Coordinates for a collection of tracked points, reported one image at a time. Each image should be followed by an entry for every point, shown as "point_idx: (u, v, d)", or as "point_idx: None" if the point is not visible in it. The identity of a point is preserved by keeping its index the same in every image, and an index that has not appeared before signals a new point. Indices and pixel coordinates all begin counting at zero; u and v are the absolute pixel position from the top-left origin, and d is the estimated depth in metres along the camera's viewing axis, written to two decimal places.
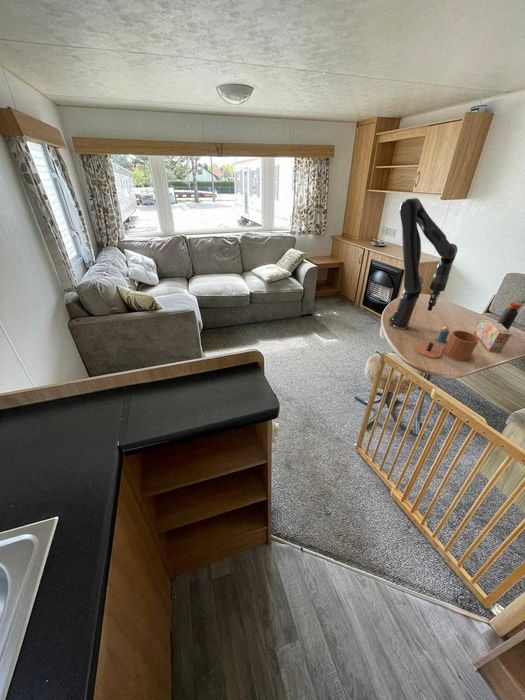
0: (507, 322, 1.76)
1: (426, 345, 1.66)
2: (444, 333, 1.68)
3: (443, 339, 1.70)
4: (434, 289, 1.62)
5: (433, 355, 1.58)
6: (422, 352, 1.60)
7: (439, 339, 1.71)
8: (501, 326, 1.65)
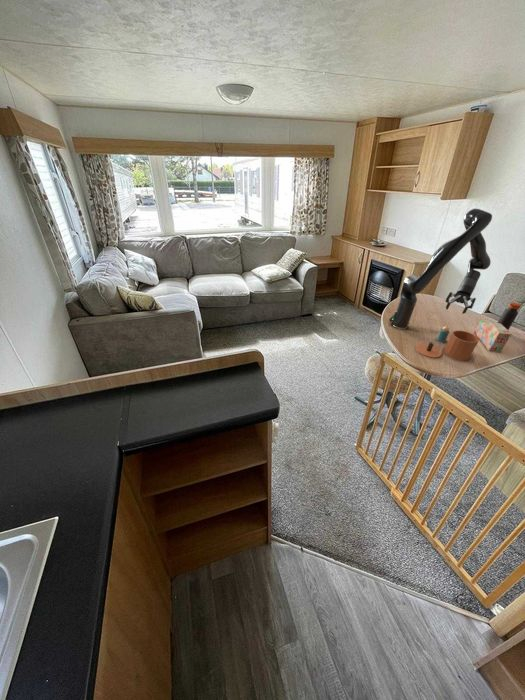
0: (507, 322, 1.76)
1: (426, 345, 1.66)
2: (444, 333, 1.68)
3: (443, 339, 1.70)
4: None
5: (433, 355, 1.58)
6: (422, 352, 1.60)
7: (439, 339, 1.71)
8: (501, 326, 1.65)
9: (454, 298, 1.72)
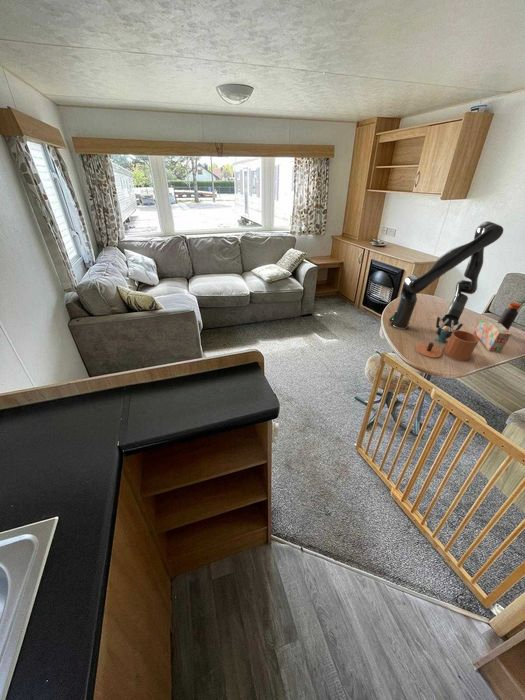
0: (507, 322, 1.76)
1: (426, 345, 1.66)
2: (444, 333, 1.68)
3: (443, 339, 1.70)
4: None
5: (433, 355, 1.58)
6: (422, 352, 1.60)
7: (439, 339, 1.71)
8: (501, 326, 1.65)
9: (443, 323, 1.70)
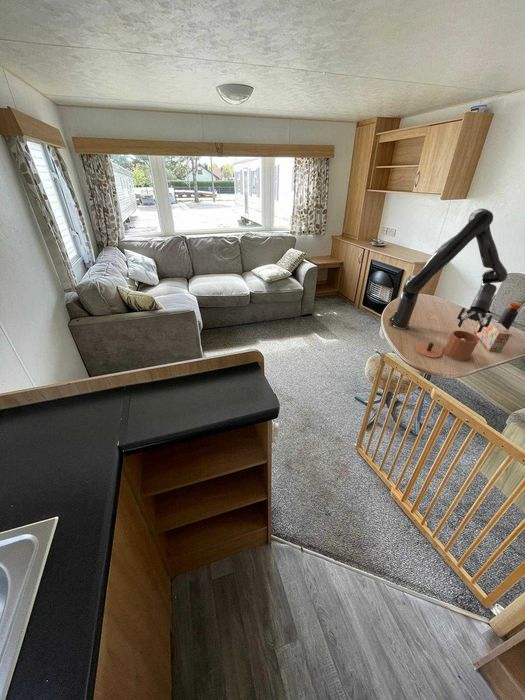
0: (507, 322, 1.76)
1: (426, 345, 1.66)
2: None
3: None
4: (486, 310, 1.50)
5: (433, 355, 1.58)
6: (422, 352, 1.60)
7: None
8: (501, 326, 1.65)
9: (468, 315, 1.52)
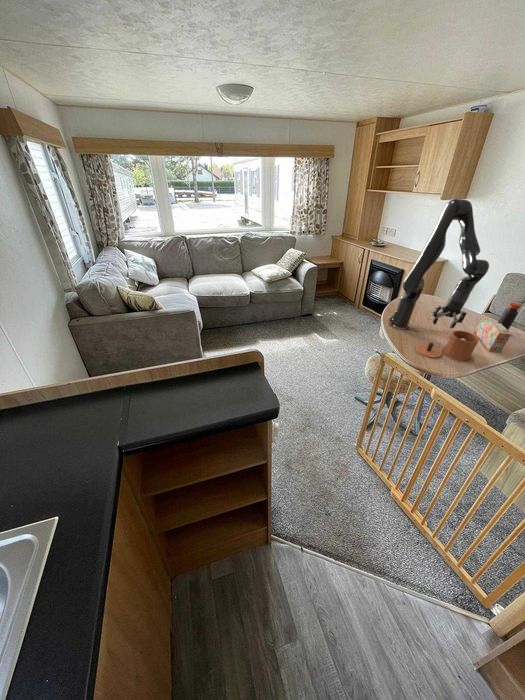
0: (507, 322, 1.76)
1: (426, 345, 1.66)
2: None
3: None
4: (446, 303, 1.49)
5: (433, 355, 1.58)
6: (422, 352, 1.60)
7: None
8: (501, 326, 1.65)
9: None
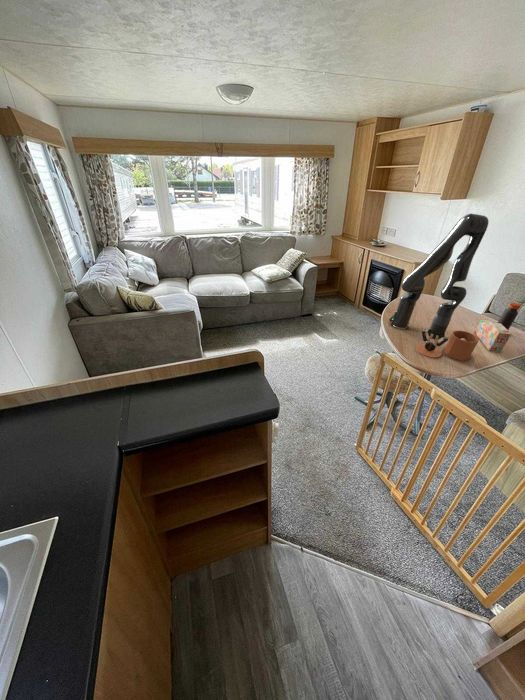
0: (507, 322, 1.76)
1: None
2: None
3: None
4: None
5: (433, 355, 1.58)
6: (422, 352, 1.60)
7: None
8: (501, 326, 1.65)
9: None
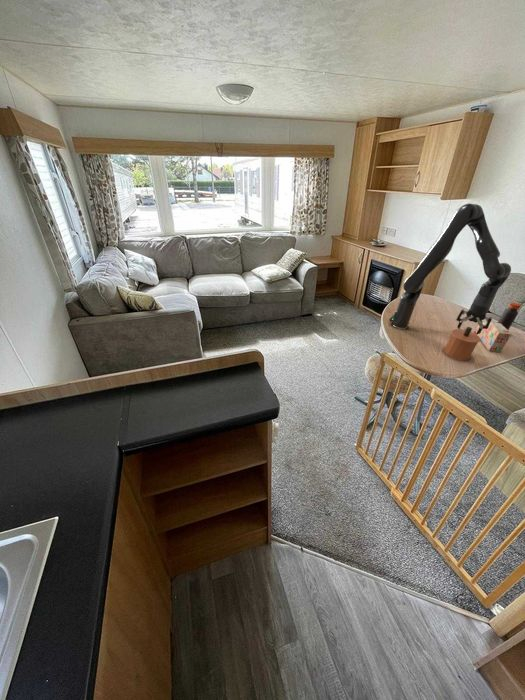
0: (507, 322, 1.76)
1: (462, 330, 1.58)
2: None
3: None
4: None
5: (472, 340, 1.50)
6: (459, 337, 1.52)
7: None
8: (501, 326, 1.65)
9: None
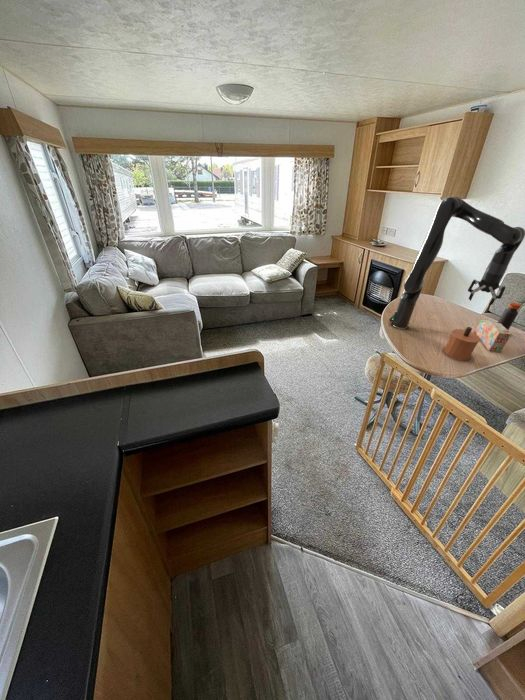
0: (507, 322, 1.76)
1: (462, 330, 1.58)
2: None
3: None
4: None
5: (472, 340, 1.50)
6: (459, 337, 1.52)
7: None
8: (501, 326, 1.65)
9: None
